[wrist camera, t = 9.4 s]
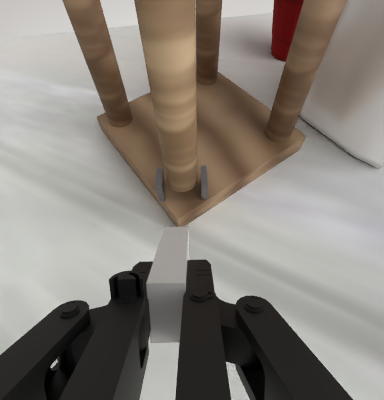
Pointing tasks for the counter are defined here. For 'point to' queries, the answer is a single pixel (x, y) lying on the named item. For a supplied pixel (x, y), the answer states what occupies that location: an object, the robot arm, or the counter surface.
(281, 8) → the plastic cup
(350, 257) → the counter surface
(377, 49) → the white canister
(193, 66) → the folding leg
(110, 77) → the footstool
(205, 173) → the hinge bracket
